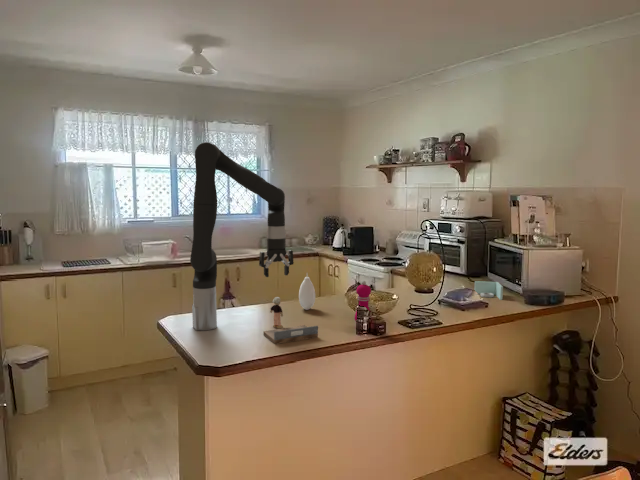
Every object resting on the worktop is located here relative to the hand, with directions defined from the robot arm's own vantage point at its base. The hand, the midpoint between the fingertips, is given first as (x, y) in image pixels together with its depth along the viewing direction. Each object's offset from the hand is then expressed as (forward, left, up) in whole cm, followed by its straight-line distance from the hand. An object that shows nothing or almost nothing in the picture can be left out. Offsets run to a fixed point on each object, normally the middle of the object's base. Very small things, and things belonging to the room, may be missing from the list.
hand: (276, 276), depth 200 cm
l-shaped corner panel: (+120, 0, -22) cm, 122 cm away
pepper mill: (+31, -18, -22) cm, 42 cm away
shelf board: (0, -14, -21) cm, 26 cm away
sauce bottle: (+23, +19, -22) cm, 37 cm away
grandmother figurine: (0, 0, -22) cm, 22 cm away
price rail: (0, -20, -20) cm, 28 cm away
